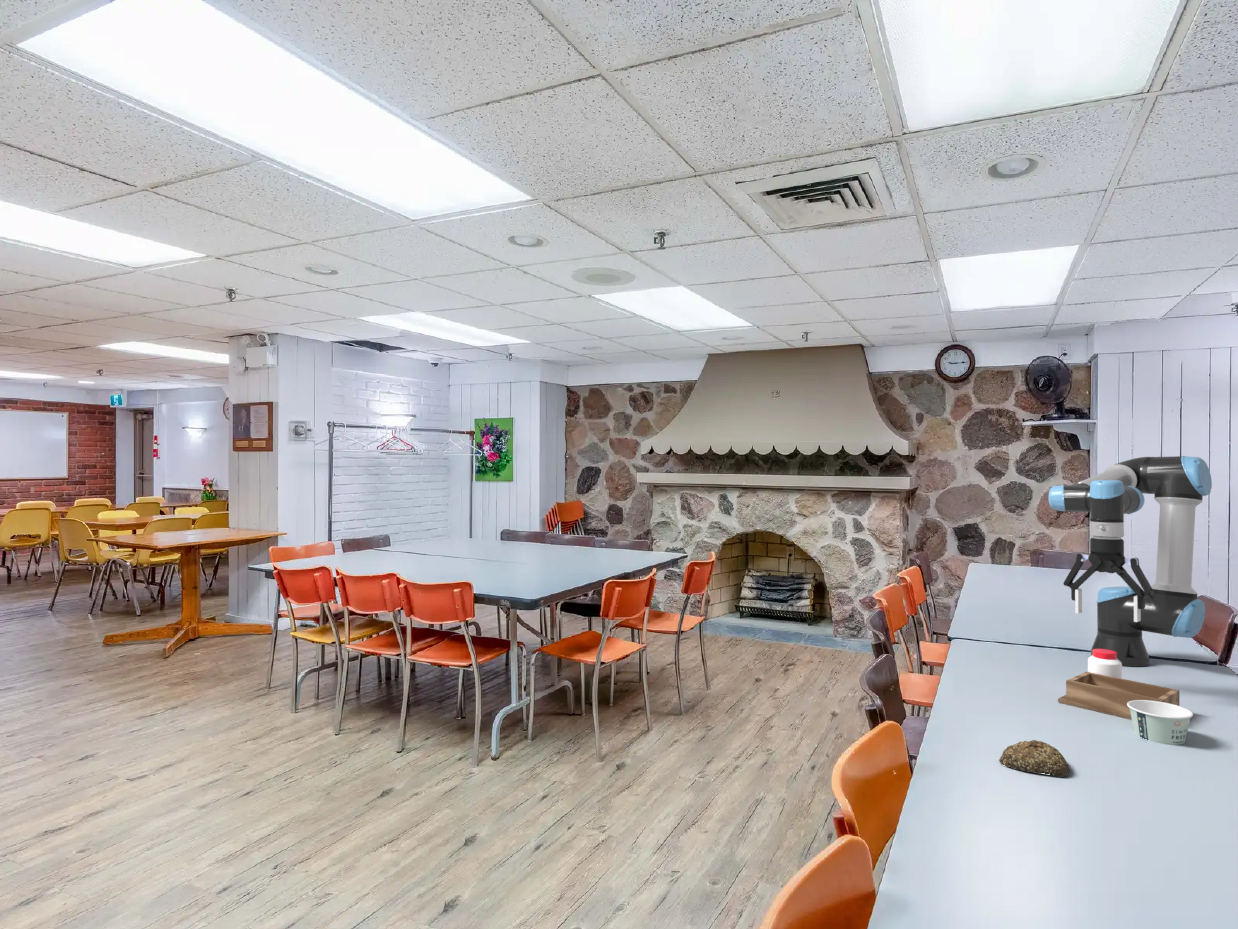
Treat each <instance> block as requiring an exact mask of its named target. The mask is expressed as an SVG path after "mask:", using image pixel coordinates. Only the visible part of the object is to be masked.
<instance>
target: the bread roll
mask: <svg viewBox="0 0 1238 929" xmlns="http://www.w3.org/2000/svg"><path fill="white" fill-rule="evenodd" d="M999 761H1000V762H999ZM999 761H998V762H999V763H1000V765H1002V764H1003V765H1005V766H1007V767H1006V768H1008V767H1011V768H1010V769H1012V768H1015V769H1019V770H1023V771H1022V772H1024V771H1028V772H1027V773H1029V772H1034V773H1045V774H1050V775H1054V776H1065V777H1066V775H1067V776H1068V774H1069V773H1070V765H1069V763H1068V762H1067V759H1066V758H1065V757H1064V755H1063V753H1061V752H1060V751H1059V750H1058V749H1057V748H1056V747H1055V746H1052V745H1050V744H1049V743H1047V742H1044V741H1041V740H1035V739H1033V740H1030V741H1029V740H1028V741H1027V740H1024V741H1018V742H1017V743H1015V744H1011V745H1007V747H1006V748H1005V749H1003V752H1002V754H1001V756H1000V757H999ZM1003 765H1002V766H1003ZM1005 766H1004V767H1005ZM1015 769H1014V770H1015ZM1019 770H1018V771H1019ZM1034 773H1033V774H1034ZM1054 776H1053V777H1054Z"/></svg>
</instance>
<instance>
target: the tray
mask: <svg viewBox="0 0 1238 929" xmlns="http://www.w3.org/2000/svg"><path fill="white" fill-rule="evenodd" d="M1133 700H1150V701H1158V702H1164V703H1169V704H1173V705H1177V706H1180V689H1176V688H1170V687H1167V686H1166V687H1165V686H1160V685H1155V684H1151V683H1145V682H1140V681H1136V680H1130V679H1125V678H1122V679H1121V678H1116V677H1111V676H1106V675H1101V674H1096V673H1091V672H1088V671H1085V672H1082V673H1080V674H1078V675H1075V676H1074V677H1071V678H1069V679H1066V681H1065V694H1064V695H1063V696H1061V697H1059V698H1057V703H1058V702H1059V703H1060V704H1064V705H1067V706H1071V705H1073V706H1072V707H1075V706H1076V707H1075V708H1080V709H1084V708H1085V709H1086V710H1089V711H1092V712H1093V711H1094V712H1097V713H1101V712H1102V713H1101V714H1106V715H1110V716H1114V715H1115V717H1119V718H1122V719H1128V720H1131V721H1132V718H1131V713H1130V708H1129V707H1128V706H1127V703H1128V702H1129V701H1133ZM1085 709H1084V710H1085Z"/></svg>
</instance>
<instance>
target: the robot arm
mask: <svg viewBox="0 0 1238 929" xmlns="http://www.w3.org/2000/svg"><path fill="white" fill-rule="evenodd" d="M1212 482H1213V481H1212V473H1211V471H1210V468H1209V466H1208V464H1207V461H1205V460H1204V459H1203V458H1201V457H1198V456H1187V455H1186V456H1185V455H1182V456H1181V455H1179V456H1143V457H1142V456H1141V457H1135V458H1131V459H1127V460H1123V461H1121V462H1118V463H1114V464H1113V465H1109V466H1108V467H1107V468H1105V470H1104V471H1103V472H1101V473H1098V474H1096V475H1093V476H1091V477H1089V478H1086V479H1084V480H1083V479H1082V480H1081V481H1078V482H1076V483H1073V484H1071V485H1064V484H1060V485H1053V486H1052V487H1051V488H1050V489H1049V492H1048V504H1049V507H1050V508H1051V509H1052V510H1053V511H1059V512H1064V513H1065V512H1074V513H1080V512H1081V513H1089V516H1090V517H1089V518H1090V519H1089V531H1090V532H1089V534H1090V536H1092V537H1091V538H1089V555H1088V554H1085V553H1083V552H1081V553H1078V554H1076V557H1075V562H1074V564H1073V566H1072V568H1071V569H1070V571H1069V572H1068V574H1067V576H1066V578H1065V579H1064V581H1063V585H1064V587H1068V588H1069V589H1070V590H1071V591H1070V592H1071V594H1070V595H1071V600H1072V601H1074V602H1075V603H1074V604H1075V605H1074V609H1075V610H1074V612H1075V613H1074V614H1075V615H1076V614H1077V615H1079V614H1081V613H1083V588H1080V586H1081V585H1082V584H1084V583H1085V582H1086V581H1087V580H1088V579H1089V578H1090V577H1091V576H1092V575H1093V574H1095V573H1096V572H1099V573H1108V574H1117V576H1119V577H1120V578H1121V579H1122V580H1123V582H1125V584H1126V585H1127V586H1108V587H1107V586H1106V587H1102V588H1100V589H1099V590H1098V592H1097V600H1096V606H1097V608H1096V611H1097V612H1096V615H1097V616H1096V617H1097V619H1096V620H1097V621H1096V622H1097V626H1096V627H1097V628H1096V629H1097V631H1096V632H1097V633H1096V637H1095V638H1094V641H1093V643H1092V647H1091V649H1090V656H1092V655H1093V649H1107V650H1112V651H1115V652H1117V659H1119V660H1120V661H1121V663H1122V667H1123V666H1124V667H1146V666H1149V665H1150V655H1149V653H1148V650H1147V648H1146V645H1145V643H1144V642H1145V641H1144V640H1143V632H1146V633H1147V632H1148V633H1152V634H1153V633H1154V634H1160V635H1166V636H1172V637H1174V638H1177V637H1178V638H1187V639H1189V638H1193V637H1195V636H1197V635H1198V634H1199V632H1200V631H1201V630H1202V627H1203V625H1204V621H1205V617H1206V604H1205V602H1204V600H1201V599H1199V598H1198V592H1197V591H1196V590H1195V589H1194V588H1193V587H1192V581H1193V580H1192V578H1193V565H1194V564H1193V562H1194V561H1193V560H1194V546H1195V545H1194V543H1195V523H1196V522H1195V521H1196V509H1197V506H1199V505H1200V504H1202V503H1203V497H1206V496H1209V495H1210V494H1211V492H1212V487H1213V486H1212V485H1213V483H1212ZM1144 494H1147V495H1154V497H1153V498H1154V501H1155V502H1157V503H1158V504H1159V515H1158V516H1159V518H1158V520H1159V521H1158V533H1157V534H1158V535H1157V538H1158V539H1157V552H1156V570H1155V583H1153V584H1152V585H1151V584H1150V583H1149V582H1150V581H1148V578H1147V577H1146V575H1145V574H1144V572H1143V570H1142V568H1141V567H1140V561H1139V560H1140V559H1139V558H1138V557H1133V558H1126V557H1125V541H1124V539H1123V537H1124V536H1125V525H1124V524H1125V520H1124V519H1125V517H1124V516H1125V515H1131V514H1133V513H1136V512H1139V511H1140V510H1141V509H1142V508H1143V506H1144V505H1145V496H1144ZM1087 560H1088V562H1089V563H1090V564H1091V566H1089V567H1088V568H1087V570H1085V572H1083V573H1082V574H1081V575H1080V576H1079V577H1078V578H1077V579H1076V577H1077V576H1078V574H1079V572H1080V569H1081V568H1082V567H1083V565H1084V563H1086V562H1087ZM1126 563H1127V565H1128V567H1130V568H1131V570H1132V572H1133V574H1134V575H1135V578H1136V580H1137V581H1138V583H1139V584H1138V583H1137V582H1136V581H1135V580H1134V579H1133V577H1132V576H1131V575H1130V574H1129V573H1128V571H1127V570H1126V569H1125V568H1124V567H1123V566H1124V565H1126ZM1075 579H1076V580H1075Z"/></svg>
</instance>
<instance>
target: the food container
mask: <svg viewBox="0 0 1238 929" xmlns="http://www.w3.org/2000/svg"><path fill="white" fill-rule="evenodd" d="M1127 706H1128V707H1129V708H1130V713H1131V718H1132V720H1131V722H1132V726H1133V727H1132V728H1133V732H1135V733H1134V735H1136V736H1137V735H1138V736H1140V737H1142V738H1141V739H1143V738H1144V739H1143V740H1145V739H1147V740H1146V741H1148V740H1150V741H1149V742H1153V743H1157V744H1162V745H1171V746H1172V745H1173V746H1174V745H1175V746H1177V745H1183V744H1185V743H1186V739H1187V735H1188V731H1189V725H1190V721H1191V718H1193V716H1194V713H1193V712H1192V711H1191V710H1189V709H1187V708H1185V707H1183V706H1180V705H1179V706H1177V705H1173V704H1169V703H1164V702H1158V701H1150V700H1133V701H1129V702H1128V703H1127ZM1138 736H1137V737H1138ZM1140 737H1139V738H1140Z"/></svg>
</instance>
